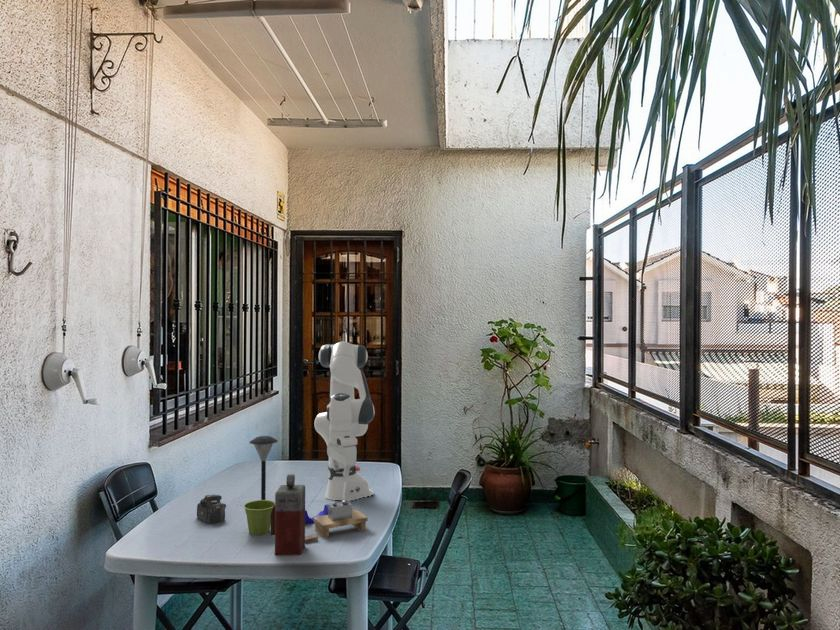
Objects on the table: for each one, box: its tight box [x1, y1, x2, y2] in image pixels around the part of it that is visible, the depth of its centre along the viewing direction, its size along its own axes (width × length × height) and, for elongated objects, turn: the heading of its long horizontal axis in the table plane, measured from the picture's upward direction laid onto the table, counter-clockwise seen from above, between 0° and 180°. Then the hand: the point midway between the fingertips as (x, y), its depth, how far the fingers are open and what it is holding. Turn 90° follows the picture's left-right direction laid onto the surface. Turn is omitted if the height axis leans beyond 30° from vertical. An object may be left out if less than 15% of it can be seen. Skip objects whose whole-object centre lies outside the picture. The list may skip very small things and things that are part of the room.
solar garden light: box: [248, 435, 279, 500], centre depth 252 cm, size 12×12×30 cm
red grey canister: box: [270, 473, 306, 556], centre depth 201 cm, size 9×11×28 cm
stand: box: [312, 509, 368, 539], centre depth 222 cm, size 18×10×6 cm, turn 121°
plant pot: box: [243, 499, 275, 536], centre depth 220 cm, size 12×12×11 cm
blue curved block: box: [305, 503, 329, 525], centre depth 234 cm, size 12×4×6 cm, turn 125°
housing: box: [327, 500, 353, 521], centre depth 222 cm, size 5×8×6 cm, turn 120°
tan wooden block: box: [305, 533, 319, 544], centre depth 210 cm, size 5×3×3 cm, turn 125°
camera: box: [196, 494, 227, 525], centre depth 235 cm, size 13×10×10 cm
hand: (340, 472), depth 222 cm, fingers open, 8 cm apart
